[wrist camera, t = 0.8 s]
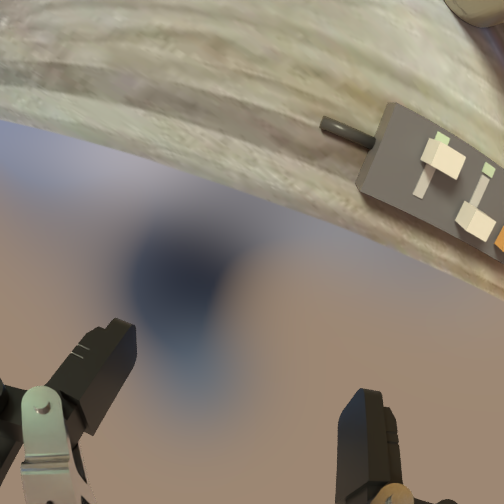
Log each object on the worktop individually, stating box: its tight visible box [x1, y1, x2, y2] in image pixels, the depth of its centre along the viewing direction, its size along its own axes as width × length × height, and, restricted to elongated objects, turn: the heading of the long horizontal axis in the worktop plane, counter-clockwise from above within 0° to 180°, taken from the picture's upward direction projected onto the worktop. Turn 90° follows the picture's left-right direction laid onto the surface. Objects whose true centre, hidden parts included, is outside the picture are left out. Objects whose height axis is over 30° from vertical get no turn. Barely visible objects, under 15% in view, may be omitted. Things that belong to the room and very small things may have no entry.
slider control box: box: [319, 103, 504, 264], centre depth 30 cm, size 32×10×4 cm, turn 71°
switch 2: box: [455, 201, 496, 242], centre depth 28 cm, size 2×3×3 cm
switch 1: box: [420, 138, 466, 180], centre depth 26 cm, size 2×3×3 cm
